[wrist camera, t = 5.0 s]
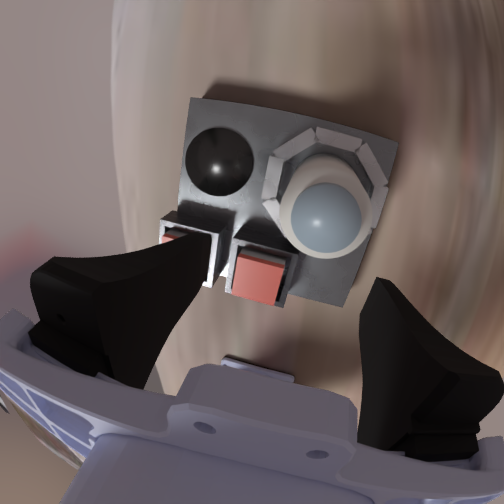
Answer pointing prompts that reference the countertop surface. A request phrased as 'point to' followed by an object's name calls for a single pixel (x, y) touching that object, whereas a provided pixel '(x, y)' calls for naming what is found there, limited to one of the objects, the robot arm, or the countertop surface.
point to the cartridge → (325, 208)
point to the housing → (268, 189)
